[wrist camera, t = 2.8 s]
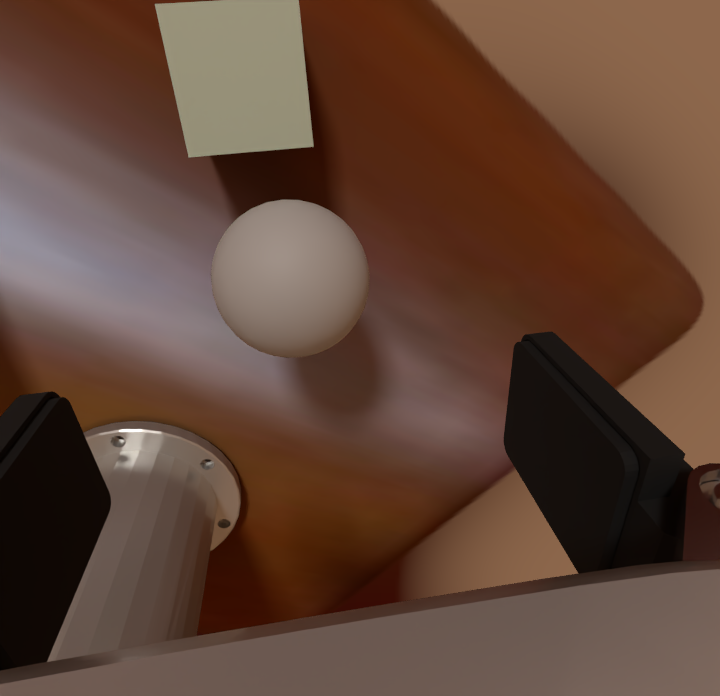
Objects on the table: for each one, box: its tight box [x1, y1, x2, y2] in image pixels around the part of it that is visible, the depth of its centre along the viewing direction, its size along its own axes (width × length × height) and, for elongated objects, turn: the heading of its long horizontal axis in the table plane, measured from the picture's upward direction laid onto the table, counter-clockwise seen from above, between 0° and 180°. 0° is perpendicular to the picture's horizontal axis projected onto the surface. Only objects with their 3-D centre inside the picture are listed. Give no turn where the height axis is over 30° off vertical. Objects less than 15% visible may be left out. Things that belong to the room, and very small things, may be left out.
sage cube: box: [155, 0, 314, 157], centre depth 20 cm, size 5×5×5 cm
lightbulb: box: [211, 200, 369, 358], centre depth 21 cm, size 6×6×11 cm
